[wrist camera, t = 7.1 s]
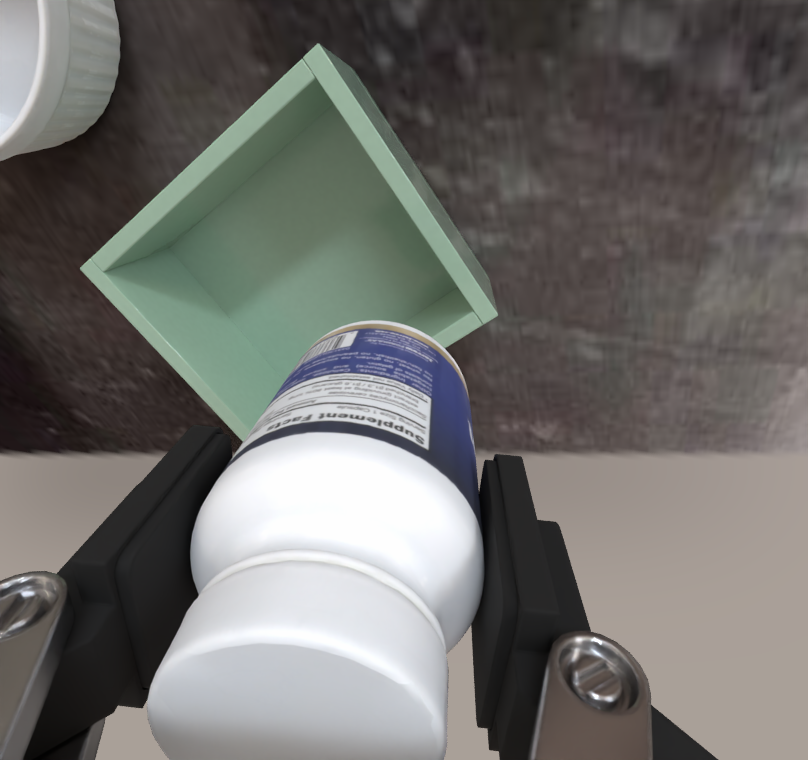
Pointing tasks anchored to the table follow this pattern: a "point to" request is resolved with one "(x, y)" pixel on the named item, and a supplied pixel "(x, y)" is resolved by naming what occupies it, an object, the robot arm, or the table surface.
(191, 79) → the table surface
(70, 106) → the ramekin
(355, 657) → the pill bottle
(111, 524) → the robot arm
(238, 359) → the green open box
